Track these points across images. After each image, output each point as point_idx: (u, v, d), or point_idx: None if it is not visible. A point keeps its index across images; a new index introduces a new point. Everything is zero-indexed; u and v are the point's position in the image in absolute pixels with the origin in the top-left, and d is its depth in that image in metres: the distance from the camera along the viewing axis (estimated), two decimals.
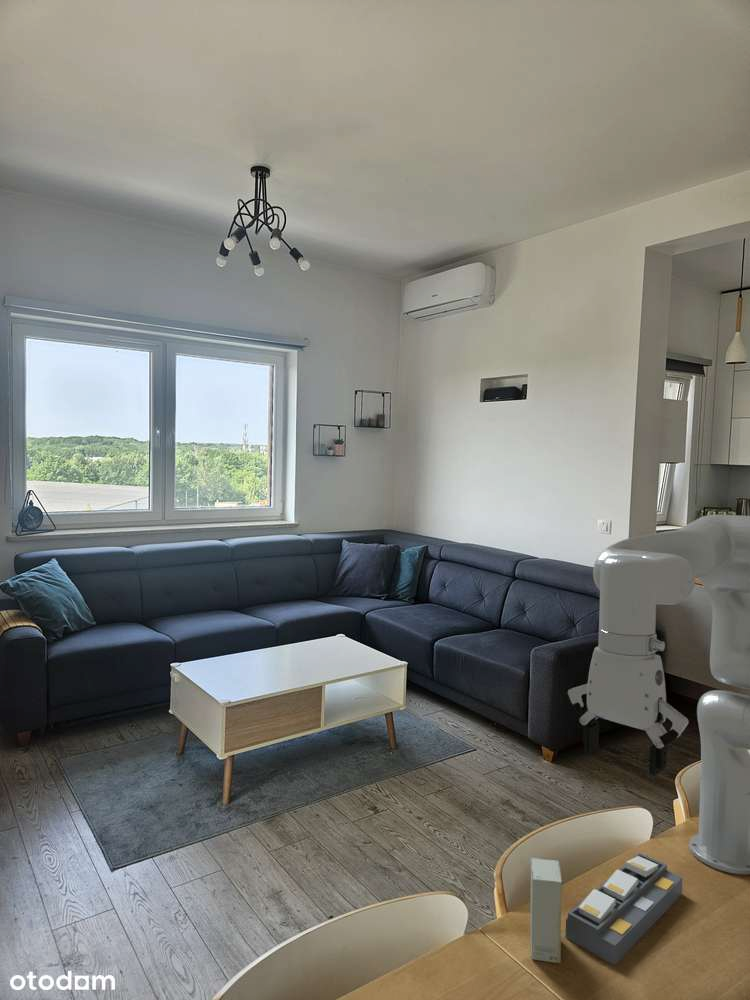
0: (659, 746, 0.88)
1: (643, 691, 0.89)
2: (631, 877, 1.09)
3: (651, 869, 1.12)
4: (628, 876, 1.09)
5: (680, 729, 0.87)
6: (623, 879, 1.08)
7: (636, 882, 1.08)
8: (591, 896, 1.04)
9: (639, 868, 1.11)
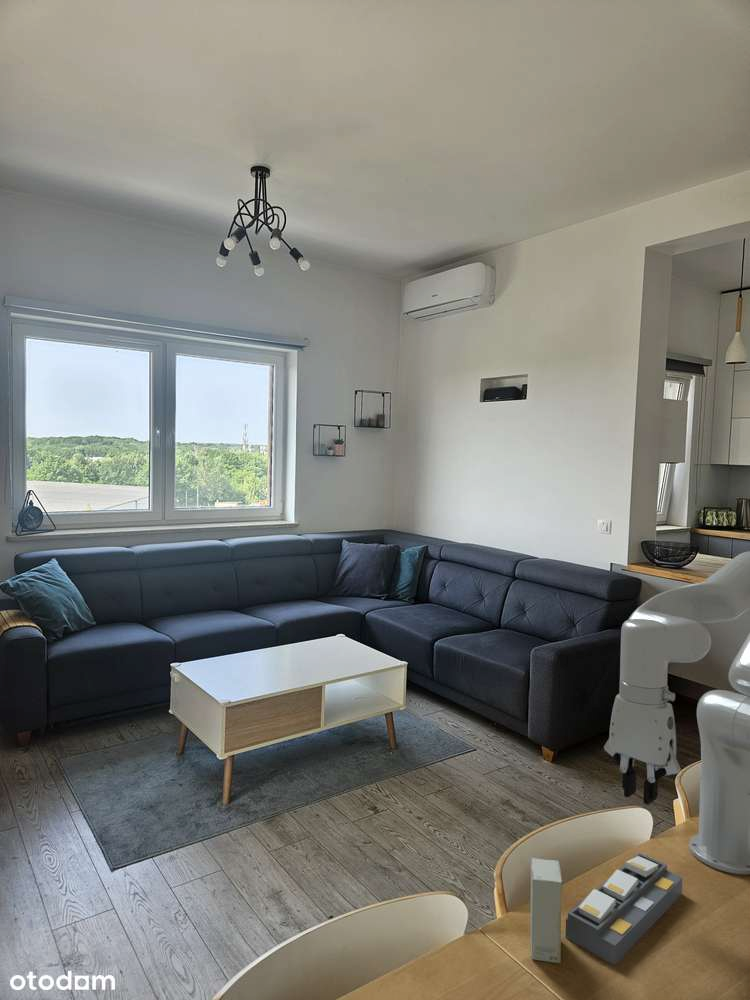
0: (651, 781, 1.09)
1: (657, 734, 1.07)
2: (631, 877, 1.09)
3: (651, 869, 1.12)
4: (628, 876, 1.09)
5: (670, 773, 1.07)
6: (623, 879, 1.08)
7: (636, 882, 1.08)
8: (591, 896, 1.04)
9: (639, 868, 1.11)
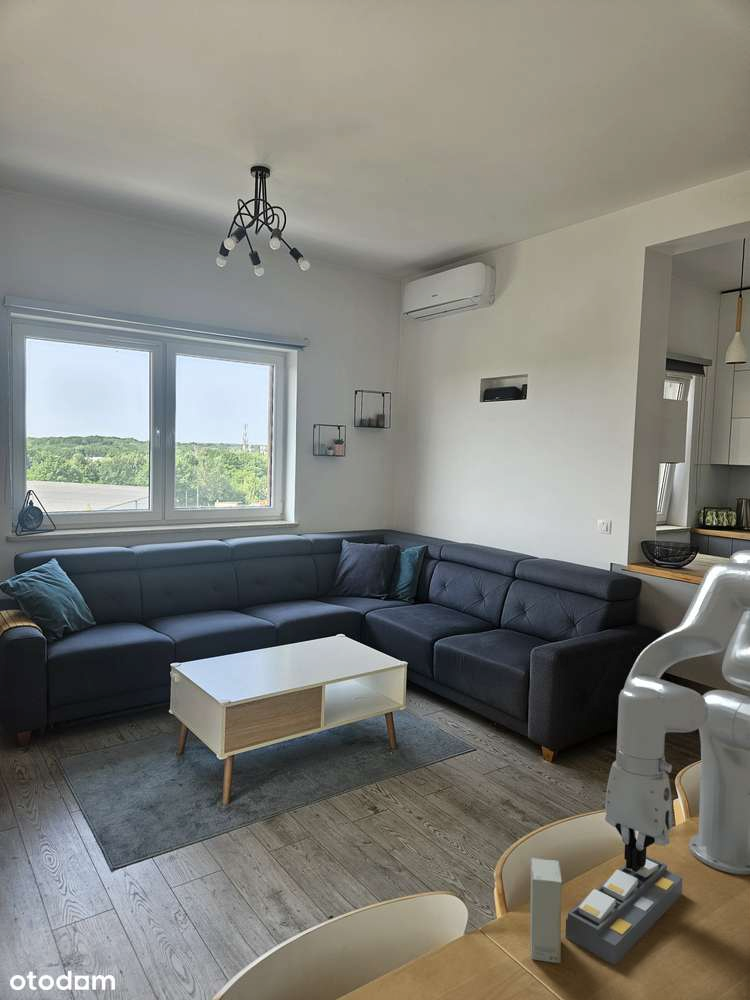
0: (640, 848, 1.10)
1: (653, 805, 1.07)
2: (631, 877, 1.09)
3: (651, 869, 1.12)
4: (628, 876, 1.09)
5: (659, 844, 1.08)
6: (623, 879, 1.08)
7: (636, 882, 1.08)
8: (591, 896, 1.04)
9: None
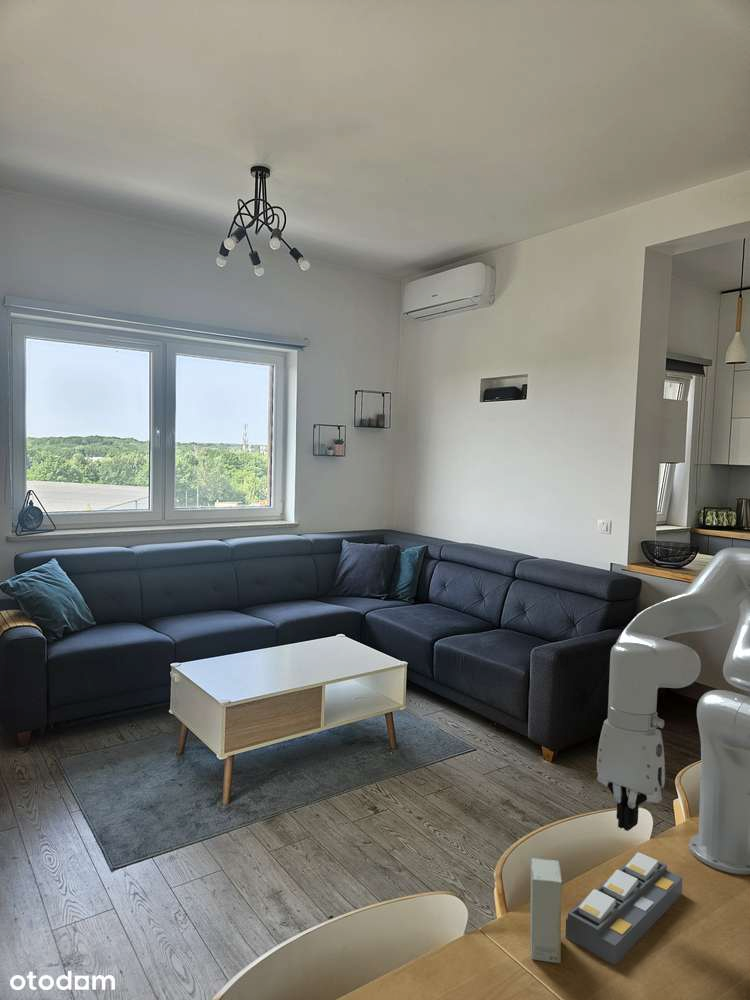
0: (632, 806, 1.07)
1: (645, 761, 1.05)
2: (631, 877, 1.09)
3: (651, 870, 1.12)
4: (628, 876, 1.09)
5: (651, 801, 1.06)
6: (623, 879, 1.08)
7: (636, 882, 1.08)
8: (591, 896, 1.04)
9: (639, 873, 1.11)
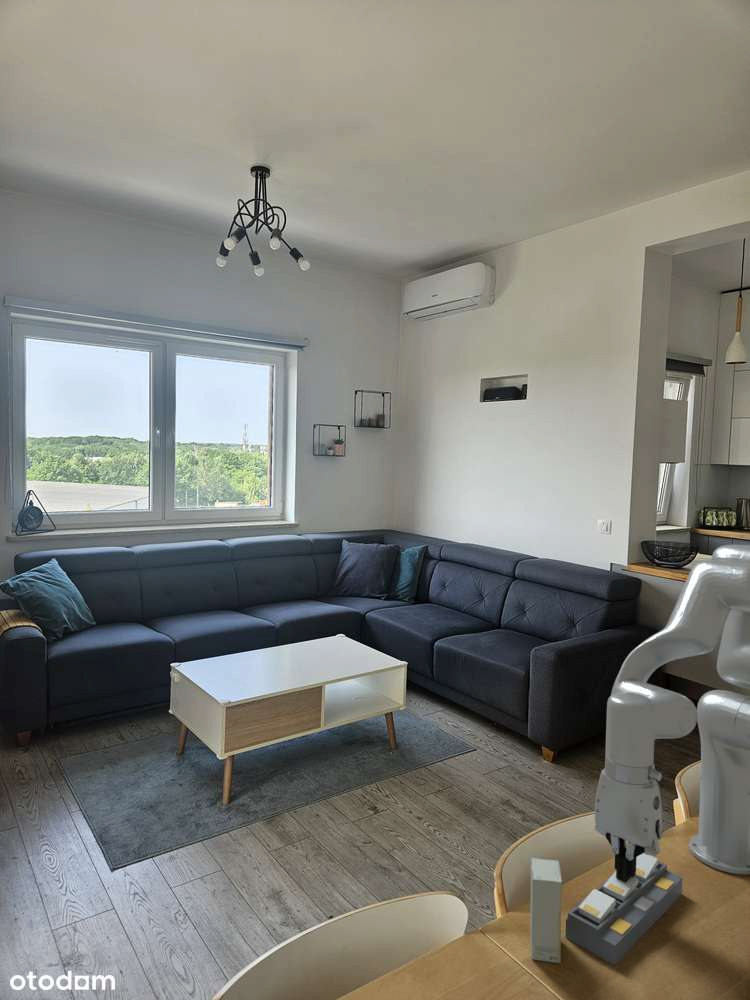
0: (629, 858, 1.07)
1: (642, 814, 1.05)
2: (631, 877, 1.09)
3: (650, 871, 1.12)
4: None
5: (649, 854, 1.06)
6: None
7: (636, 882, 1.08)
8: (591, 896, 1.04)
9: (639, 875, 1.11)
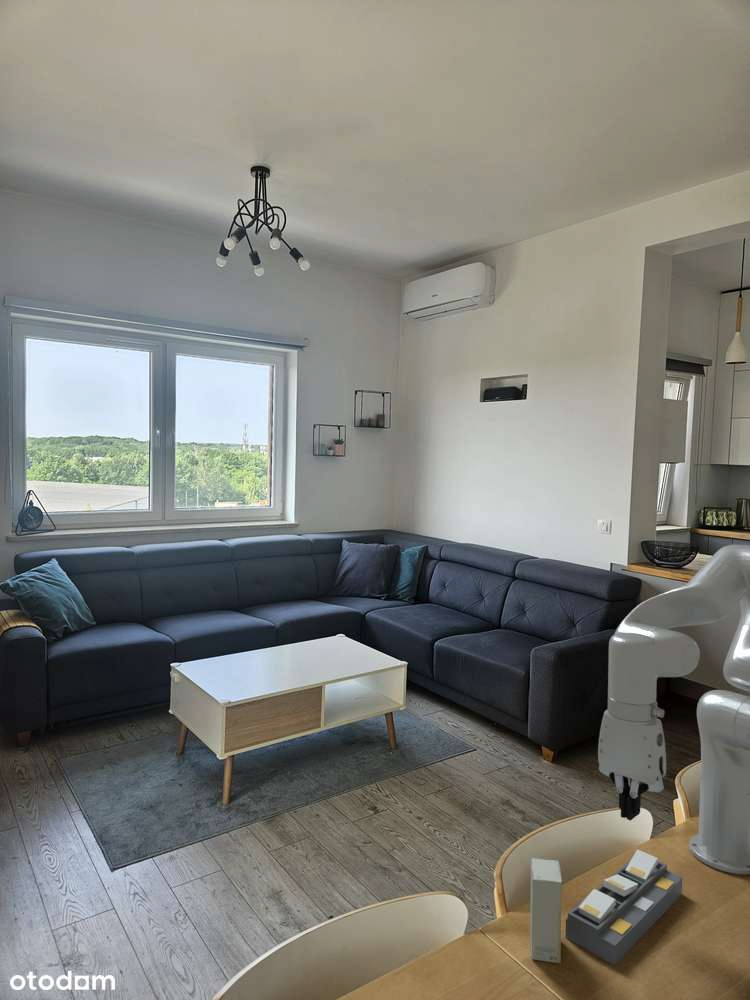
0: (634, 796, 1.08)
1: (646, 751, 1.05)
2: (631, 881, 1.09)
3: (650, 871, 1.12)
4: (628, 880, 1.09)
5: (653, 790, 1.06)
6: (623, 881, 1.09)
7: (636, 886, 1.08)
8: (591, 896, 1.04)
9: (639, 876, 1.11)
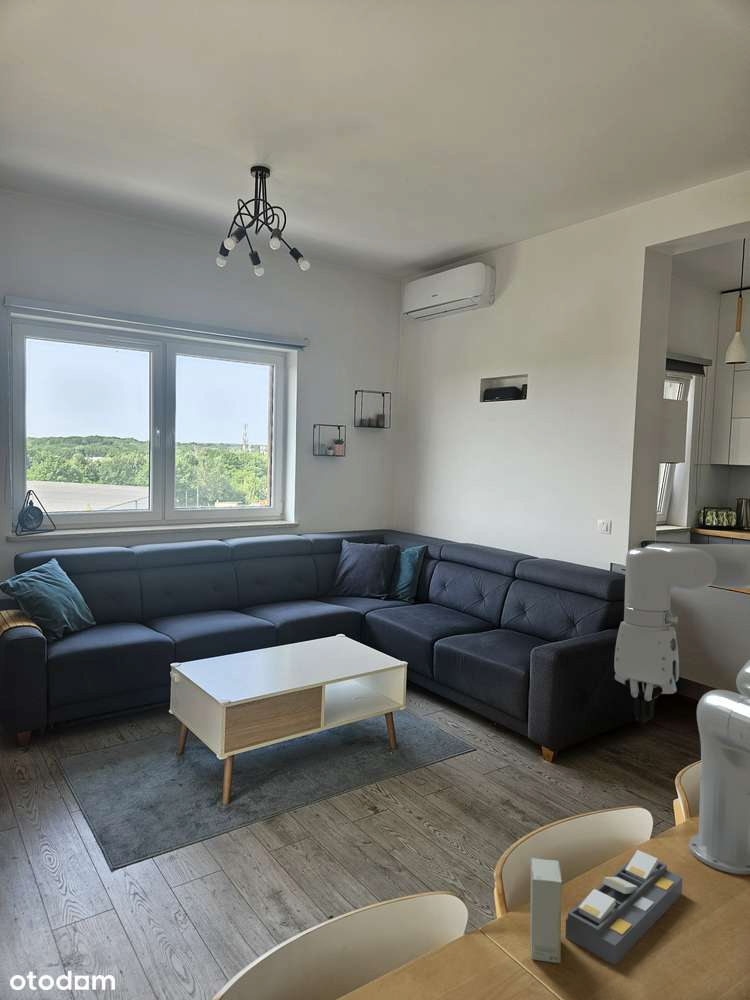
0: (648, 699, 1.14)
1: (660, 655, 1.12)
2: (631, 884, 1.09)
3: (650, 871, 1.12)
4: (628, 882, 1.09)
5: (666, 692, 1.13)
6: (624, 882, 1.09)
7: (636, 888, 1.08)
8: (591, 896, 1.04)
9: (639, 876, 1.11)
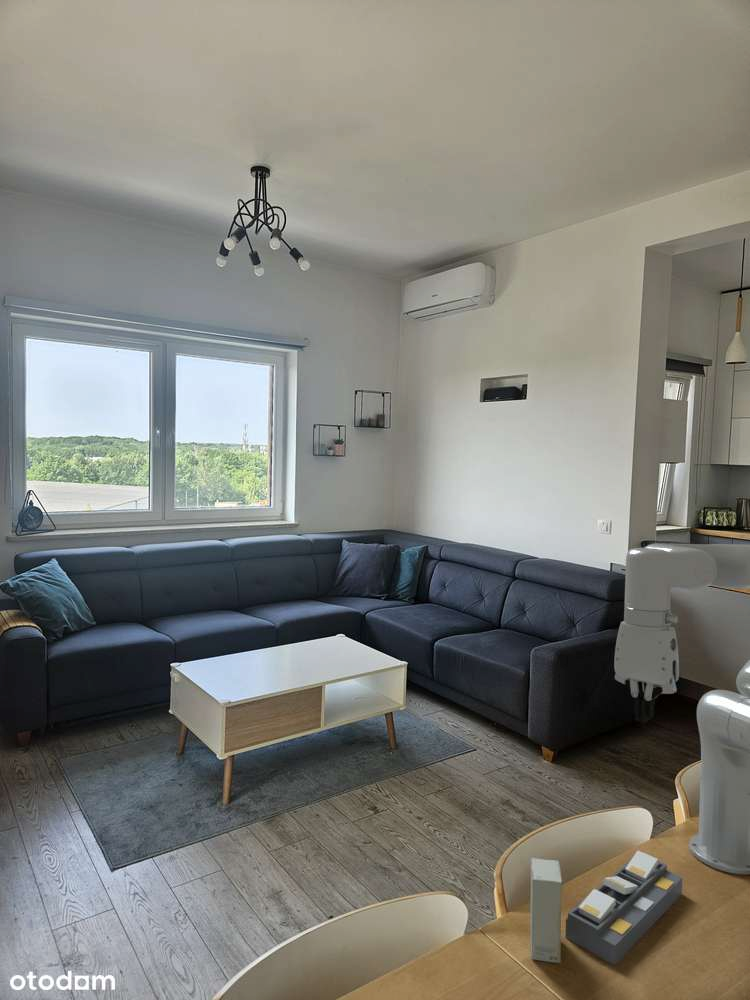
0: (648, 699, 1.14)
1: (660, 655, 1.12)
2: (631, 883, 1.09)
3: (650, 870, 1.12)
4: (628, 882, 1.09)
5: (666, 692, 1.13)
6: (623, 881, 1.09)
7: (636, 888, 1.08)
8: (591, 896, 1.04)
9: (638, 875, 1.11)
